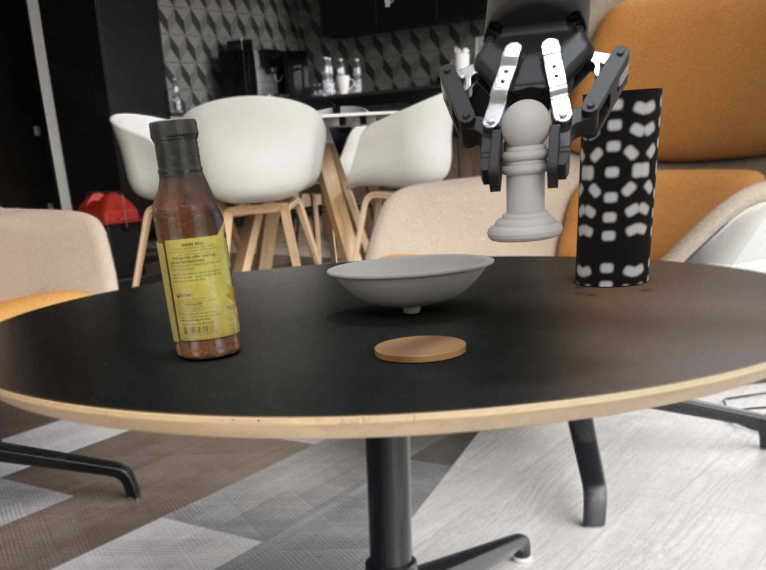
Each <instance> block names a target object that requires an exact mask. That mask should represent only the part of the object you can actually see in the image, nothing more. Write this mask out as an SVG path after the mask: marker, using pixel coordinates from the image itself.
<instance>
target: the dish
mask: <svg viewBox="0 0 766 570" xmlns="http://www.w3.org/2000/svg"><path fill="white" fill-rule="evenodd" d="M494 263H495V258H493V257H492V256H488V255H483V254H475V253H474V254H470V253H434V254H414V255H400V256H399V255H398V256H389V257H379V258H371V259H370V258H369V259H364V260H358V261H351V262H347V263H342V264H337V265H335V266H331V267H330V268H328V269H327V270H326V274H327V275H328V276H329V277H333V278H336V280H337V281H338V283H340V285H341V286H342V287H343V288H345V290H347V291H348V292H349V293H351V294H352V295H353V296H355V297H357V298H358V299H360V300H361V301H364V302H366V303H368V304H372V305H375V306H380V307H387V308H402V310H403V313H404V314H407V315H408V314H409V315H413V314H418V313H420V312H421V307H425V306H430V305H436V304H439V303H442V302H446V301H448V300H451V299H453V298H455V297H457V296H459V295H461V294H462V293H463V292H464V291H466V290H467V289H468V288H470V287H471V286H472V285H473V284H474V283H475V282H476V281H477V280H478V278H479V277H480V276H481V275H483V272H484V271H485V270H486V268H487V267H489V266H491V265H493V264H494Z"/></svg>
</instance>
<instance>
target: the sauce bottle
mask: <svg viewBox="0 0 766 570" xmlns="http://www.w3.org/2000/svg"><path fill="white" fill-rule="evenodd" d="M148 129H149V138H150V140H151V142H152V143H153V145H154V152H155V157H156V164H157V175H158V178H159V179H158V186H157V191H156V194H155V196H154V199H153V202H152V206H151V210H152V212H151V215H152V220H153V225H154V231H155V236H156V242H155V243H156V251H157V254H158V261H159V266H160V273H161V278H162V284H163V289H164V294H165V300H166V306H167V313H168V318H169V322H170V329H171V334H172V340H173V342H174V343H175V351H176V353H177V355H178V356H179V357H181V358H183V359H185V360H195V361H198V360H200V361H201V360H212V359H218V358H221V357H222V358H223V357H225V356H229V355H233V354H236V352H238V351H239V350H240V348H241V336H240V335H241V333H240V332H241V326H240V320H239V319H240V318H239V313H238V306H237V300H236V294H235V286H234V278H233V272H232V264H231V257H230V250H229V245H228V239H227V237H228V236H227V232H226V224H225V217H224V215H223V213H222V211H221V209H220V206H219V204H218V202H217V200H216V197H215V194H214V193H213V191H212V188H211V186H210V184H209V182H208V180H207V178H206V176H205V173H204V168H203V165H202V163H201V162H202V161H201V155H200V146H199V141H198V139H199V133H200V132H199V127H198V122H197V119H195V118H194V117H179V118H169V119H161V120H160V119H159V120H154V121H150V122H149V123H148Z"/></svg>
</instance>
